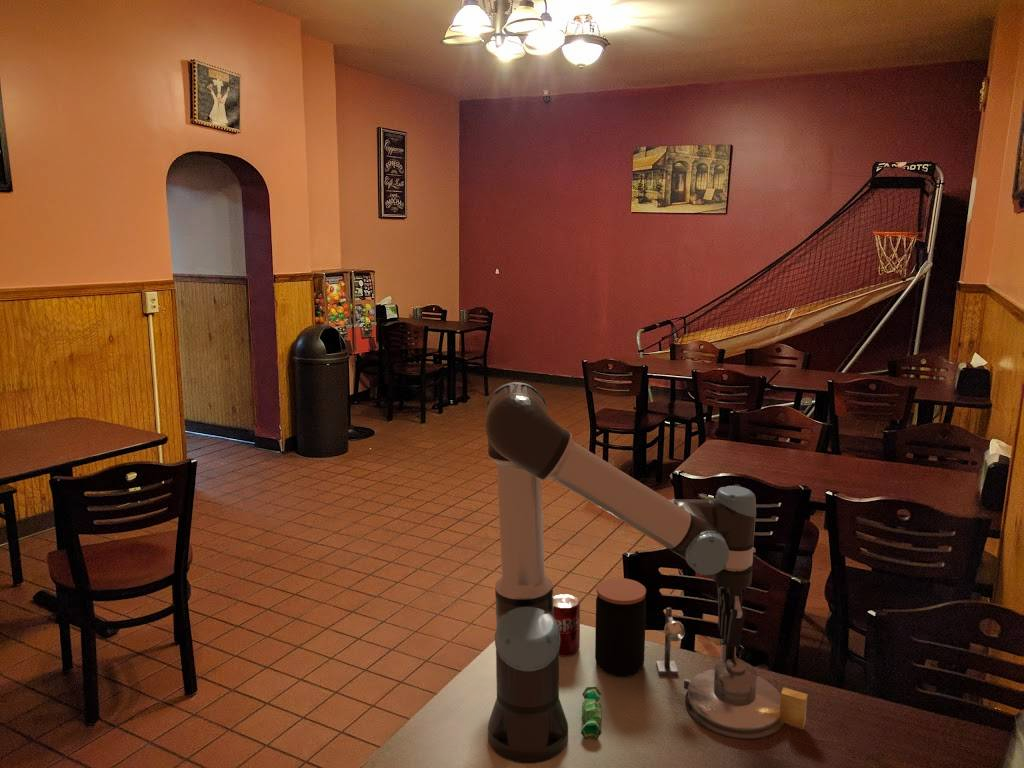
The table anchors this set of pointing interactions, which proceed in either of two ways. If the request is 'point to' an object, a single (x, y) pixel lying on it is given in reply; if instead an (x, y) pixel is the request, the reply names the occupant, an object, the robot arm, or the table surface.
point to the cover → (735, 682)
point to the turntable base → (728, 733)
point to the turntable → (746, 706)
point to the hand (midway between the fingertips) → (727, 670)
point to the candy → (591, 712)
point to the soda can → (567, 623)
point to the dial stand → (672, 633)
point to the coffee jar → (620, 626)
